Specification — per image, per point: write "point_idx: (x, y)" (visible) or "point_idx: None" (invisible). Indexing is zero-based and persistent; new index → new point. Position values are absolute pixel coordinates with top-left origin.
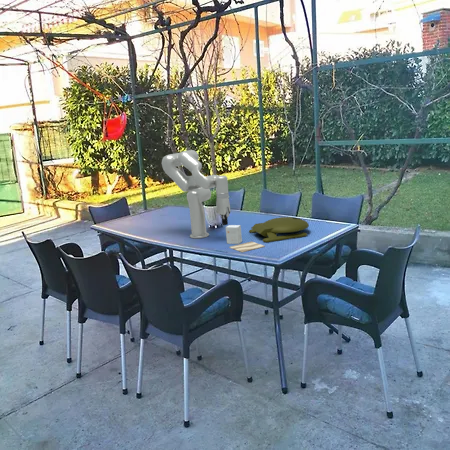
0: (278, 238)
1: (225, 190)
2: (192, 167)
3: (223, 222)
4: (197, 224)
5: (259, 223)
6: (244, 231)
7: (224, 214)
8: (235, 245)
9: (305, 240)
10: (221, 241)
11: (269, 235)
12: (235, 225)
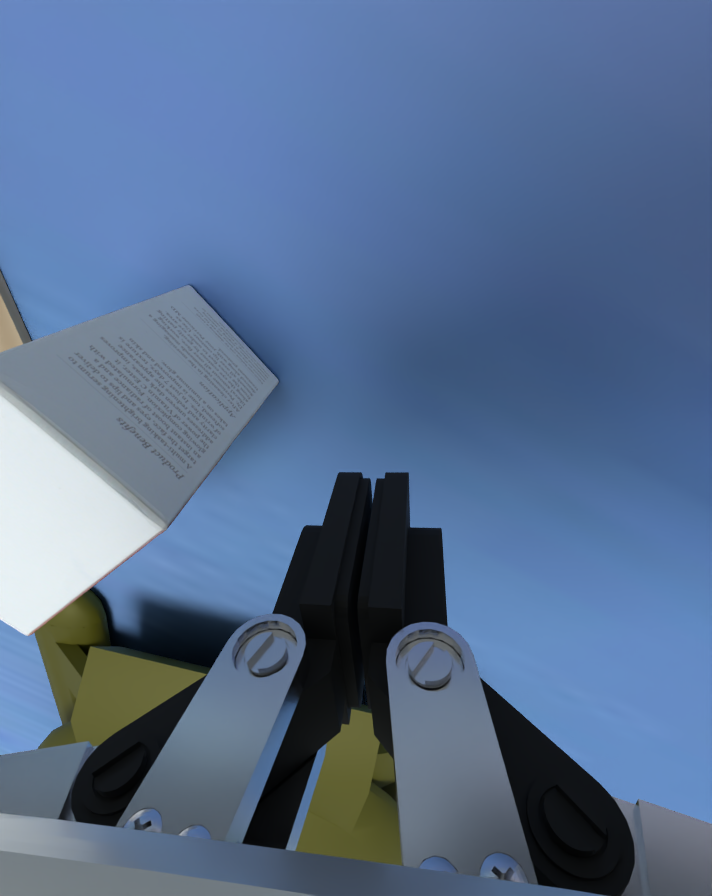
0: (47, 671)
1: None
2: None
3: (327, 525)
4: None
5: (351, 809)
6: (551, 672)
7: None
8: (3, 313)
9: (4, 724)
10: (360, 278)
11: (71, 669)
12: (34, 581)
